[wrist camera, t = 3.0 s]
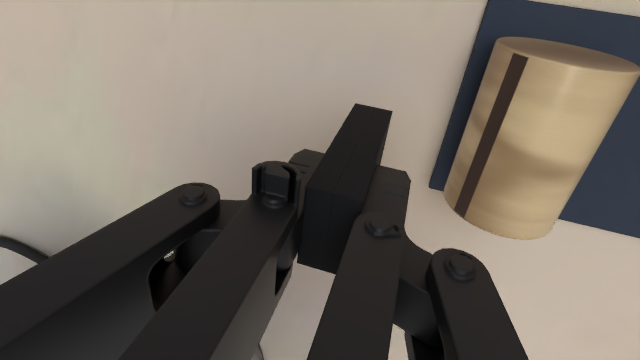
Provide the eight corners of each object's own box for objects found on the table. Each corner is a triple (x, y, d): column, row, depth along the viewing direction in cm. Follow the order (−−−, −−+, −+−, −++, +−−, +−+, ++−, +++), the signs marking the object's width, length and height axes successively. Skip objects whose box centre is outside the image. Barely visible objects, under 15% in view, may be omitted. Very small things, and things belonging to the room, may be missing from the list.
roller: (491, 172, 23) (422, 186, 21) (547, 37, 19) (469, 35, 16) (574, 226, 19) (501, 252, 17) (670, 70, 15) (590, 74, 12)
